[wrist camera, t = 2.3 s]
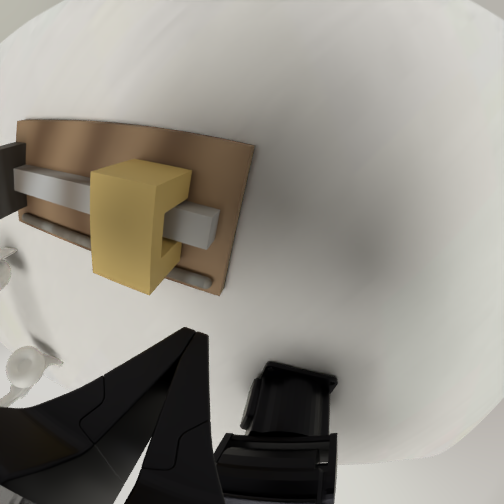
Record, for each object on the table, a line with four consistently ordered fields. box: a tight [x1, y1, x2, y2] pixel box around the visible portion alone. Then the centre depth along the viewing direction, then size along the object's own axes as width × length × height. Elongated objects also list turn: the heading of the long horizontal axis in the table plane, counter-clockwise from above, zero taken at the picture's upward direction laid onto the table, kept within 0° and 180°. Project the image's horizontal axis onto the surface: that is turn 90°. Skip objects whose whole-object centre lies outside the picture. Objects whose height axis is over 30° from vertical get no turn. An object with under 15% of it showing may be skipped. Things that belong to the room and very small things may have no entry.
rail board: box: [0, 120, 255, 296], centre depth 16 cm, size 22×10×6 cm, turn 77°
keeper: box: [90, 159, 192, 295], centre depth 15 cm, size 4×6×4 cm, turn 167°
